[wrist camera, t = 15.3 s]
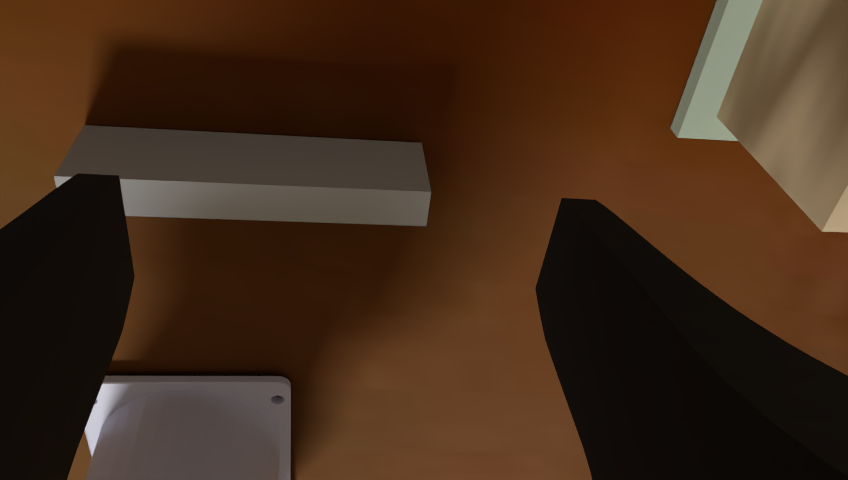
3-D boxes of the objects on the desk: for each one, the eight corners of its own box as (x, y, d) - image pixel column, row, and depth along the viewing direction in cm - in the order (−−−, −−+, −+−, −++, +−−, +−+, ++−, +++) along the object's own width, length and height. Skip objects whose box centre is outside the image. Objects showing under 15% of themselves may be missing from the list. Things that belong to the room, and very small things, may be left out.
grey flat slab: (417, 175, 23) (426, 226, 21) (90, 160, 21) (62, 213, 19) (471, -251, 16) (494, -242, 14) (-2, -316, 15) (-61, -318, 12)
